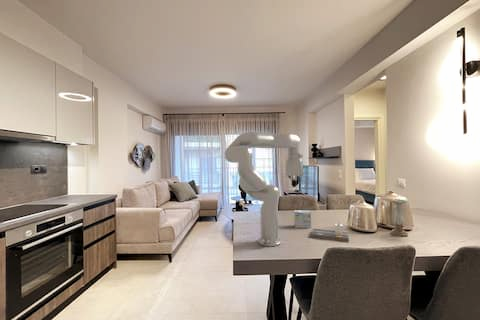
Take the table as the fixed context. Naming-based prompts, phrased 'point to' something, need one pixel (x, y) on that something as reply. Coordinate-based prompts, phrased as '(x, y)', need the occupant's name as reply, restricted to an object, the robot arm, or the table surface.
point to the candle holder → (398, 219)
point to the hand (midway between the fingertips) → (294, 186)
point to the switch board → (329, 234)
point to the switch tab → (339, 228)
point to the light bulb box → (302, 219)
